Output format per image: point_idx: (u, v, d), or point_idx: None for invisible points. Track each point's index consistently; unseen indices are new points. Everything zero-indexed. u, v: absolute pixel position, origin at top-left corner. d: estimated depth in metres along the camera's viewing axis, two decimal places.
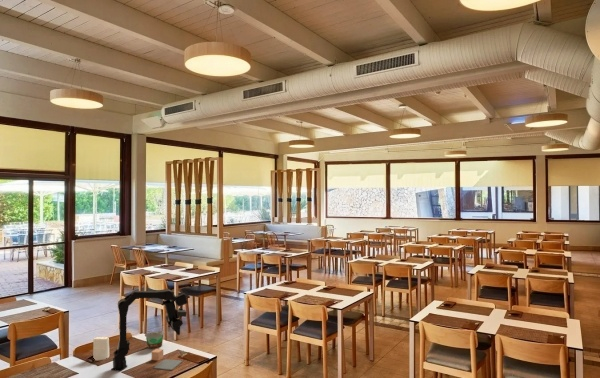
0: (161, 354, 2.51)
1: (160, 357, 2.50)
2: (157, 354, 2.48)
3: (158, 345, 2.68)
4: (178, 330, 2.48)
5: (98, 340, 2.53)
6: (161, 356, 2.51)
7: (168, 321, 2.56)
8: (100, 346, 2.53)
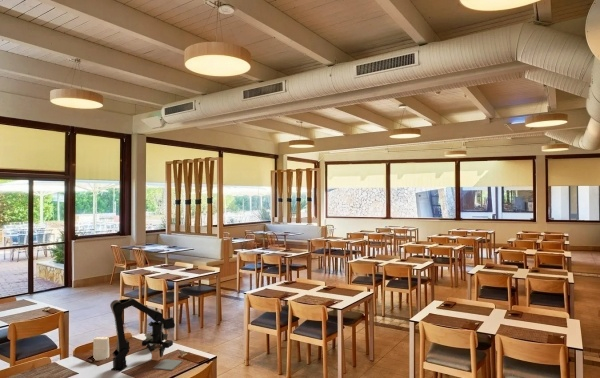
0: None
1: (160, 357, 2.50)
2: (157, 354, 2.48)
3: (158, 345, 2.68)
4: (162, 352, 2.50)
5: (98, 340, 2.53)
6: None
7: (149, 346, 2.50)
8: (100, 346, 2.53)
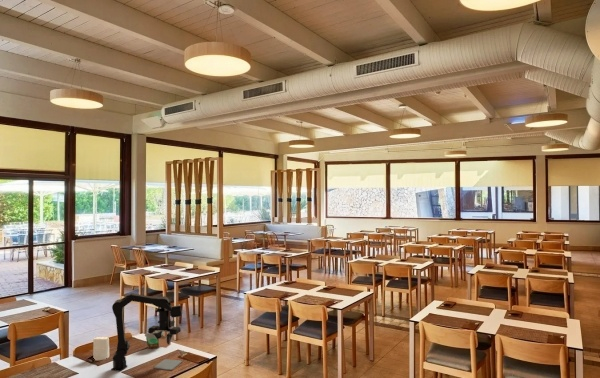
0: None
1: (167, 344, 2.43)
2: (165, 341, 2.42)
3: (158, 345, 2.68)
4: (170, 339, 2.44)
5: (98, 340, 2.53)
6: None
7: (156, 333, 2.43)
8: (100, 346, 2.53)
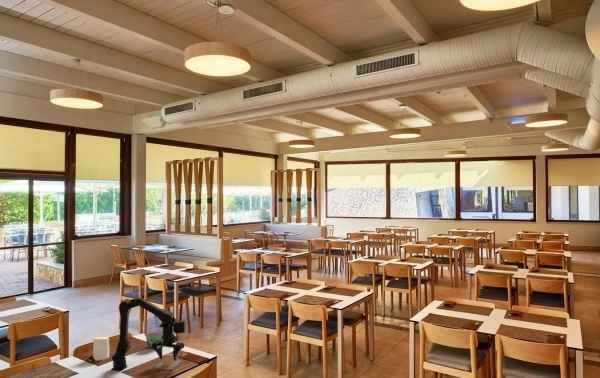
0: (172, 359, 2.41)
1: (171, 362, 2.40)
2: (168, 359, 2.38)
3: None
4: (176, 355, 2.40)
5: (98, 340, 2.53)
6: (172, 361, 2.41)
7: (157, 348, 2.40)
8: (100, 346, 2.53)
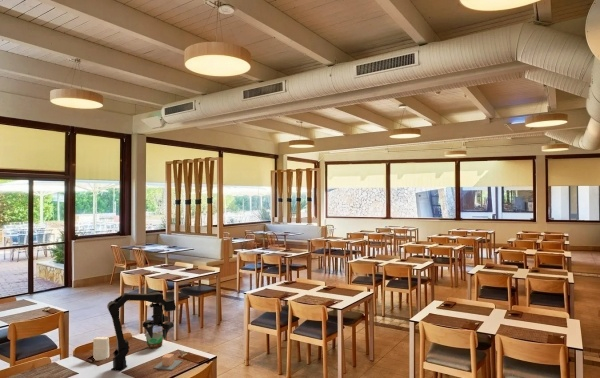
0: (172, 359, 2.41)
1: (171, 362, 2.40)
2: (168, 359, 2.38)
3: (158, 345, 2.68)
4: (166, 334, 2.48)
5: (98, 340, 2.53)
6: (172, 361, 2.41)
7: (147, 327, 2.49)
8: (100, 346, 2.53)
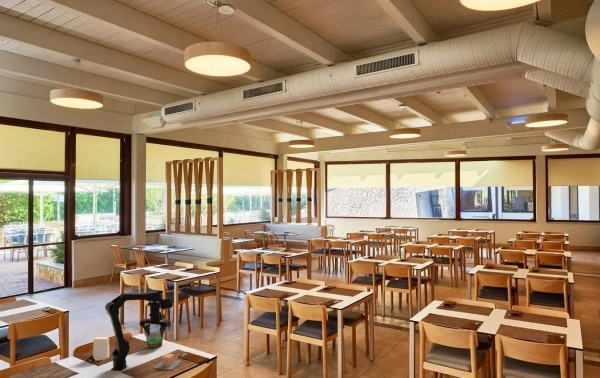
0: (172, 359, 2.41)
1: (171, 362, 2.40)
2: (168, 359, 2.38)
3: (158, 345, 2.68)
4: (163, 332, 2.51)
5: (98, 340, 2.53)
6: (172, 361, 2.41)
7: (144, 326, 2.52)
8: (100, 346, 2.53)
